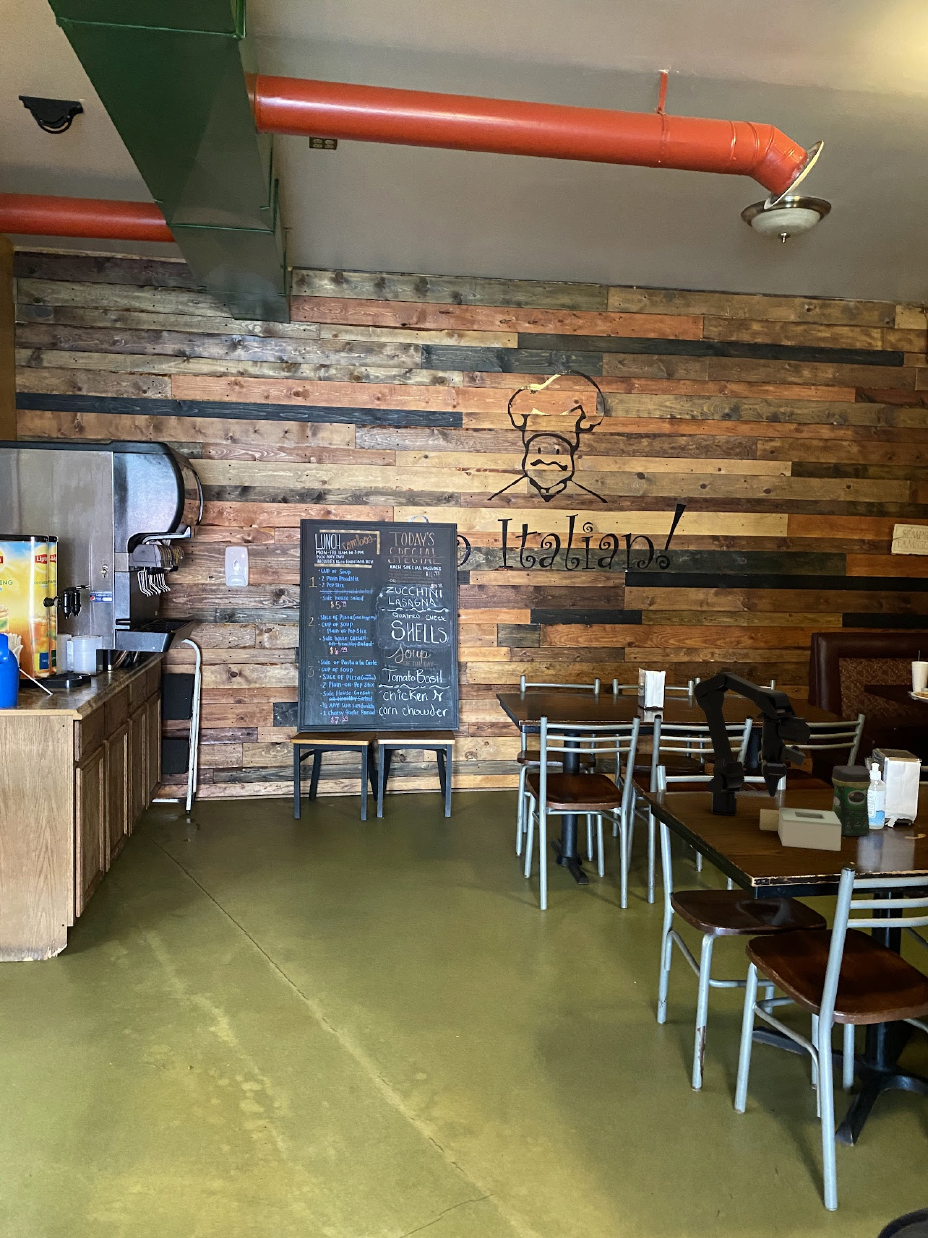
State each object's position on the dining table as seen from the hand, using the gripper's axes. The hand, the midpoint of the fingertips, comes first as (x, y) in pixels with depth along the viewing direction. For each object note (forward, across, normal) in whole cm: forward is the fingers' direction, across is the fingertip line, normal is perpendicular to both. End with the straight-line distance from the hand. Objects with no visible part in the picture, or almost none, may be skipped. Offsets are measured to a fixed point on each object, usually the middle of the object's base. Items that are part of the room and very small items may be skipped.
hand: (770, 792), depth 242 cm
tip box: (+10, -9, -9) cm, 16 cm away
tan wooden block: (+10, 0, 0) cm, 10 cm away
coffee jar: (+10, +3, -21) cm, 24 cm away
